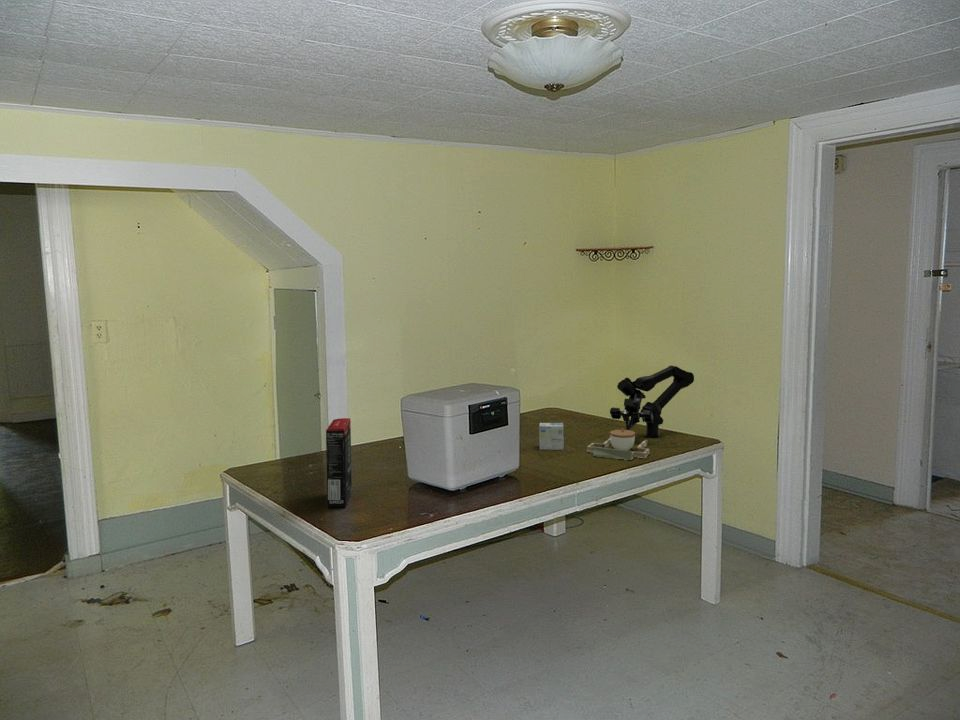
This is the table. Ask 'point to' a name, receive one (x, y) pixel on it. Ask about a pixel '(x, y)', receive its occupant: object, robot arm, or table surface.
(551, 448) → the light bulb box
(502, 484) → the table surface
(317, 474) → the table surface
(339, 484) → the graphics card box
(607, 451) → the trap lane
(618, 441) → the lidded jar
